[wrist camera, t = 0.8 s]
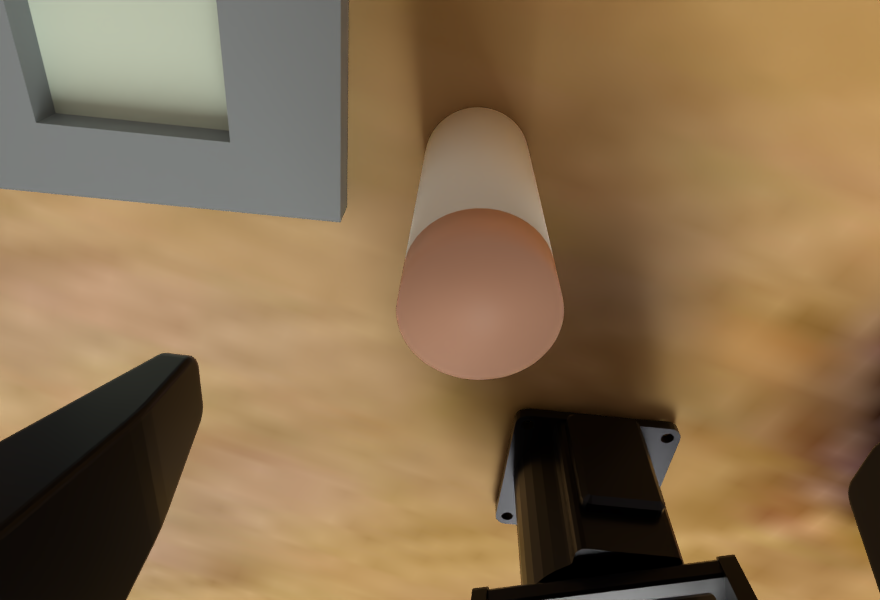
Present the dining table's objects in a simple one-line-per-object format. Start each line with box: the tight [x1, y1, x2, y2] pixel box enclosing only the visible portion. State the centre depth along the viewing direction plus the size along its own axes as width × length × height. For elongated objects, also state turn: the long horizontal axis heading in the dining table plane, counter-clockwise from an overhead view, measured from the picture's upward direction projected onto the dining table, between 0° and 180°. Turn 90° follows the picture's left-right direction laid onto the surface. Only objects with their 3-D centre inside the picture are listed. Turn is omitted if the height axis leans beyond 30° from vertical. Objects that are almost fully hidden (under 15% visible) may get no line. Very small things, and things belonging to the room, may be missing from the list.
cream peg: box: [396, 107, 564, 380], centre depth 15 cm, size 3×3×9 cm
